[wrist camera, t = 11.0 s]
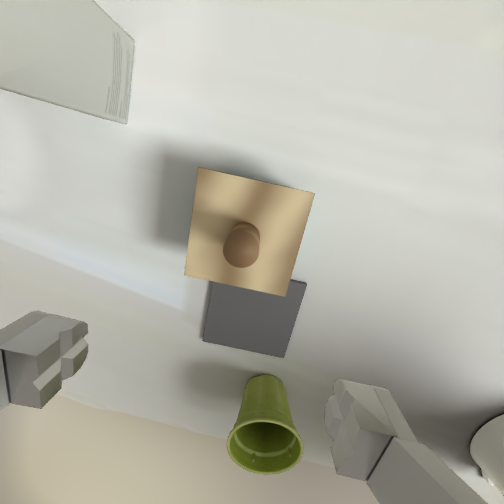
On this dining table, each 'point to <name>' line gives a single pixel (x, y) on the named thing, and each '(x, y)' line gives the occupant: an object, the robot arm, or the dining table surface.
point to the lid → (245, 231)
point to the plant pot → (265, 429)
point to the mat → (252, 318)
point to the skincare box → (66, 56)
